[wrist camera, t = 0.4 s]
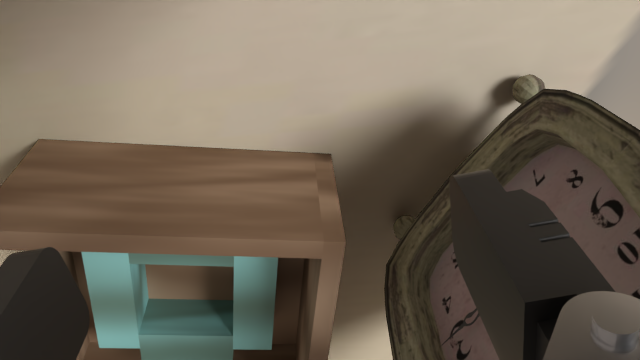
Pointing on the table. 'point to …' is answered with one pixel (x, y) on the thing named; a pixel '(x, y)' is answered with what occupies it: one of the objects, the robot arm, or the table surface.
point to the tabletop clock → (540, 181)
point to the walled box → (186, 246)
